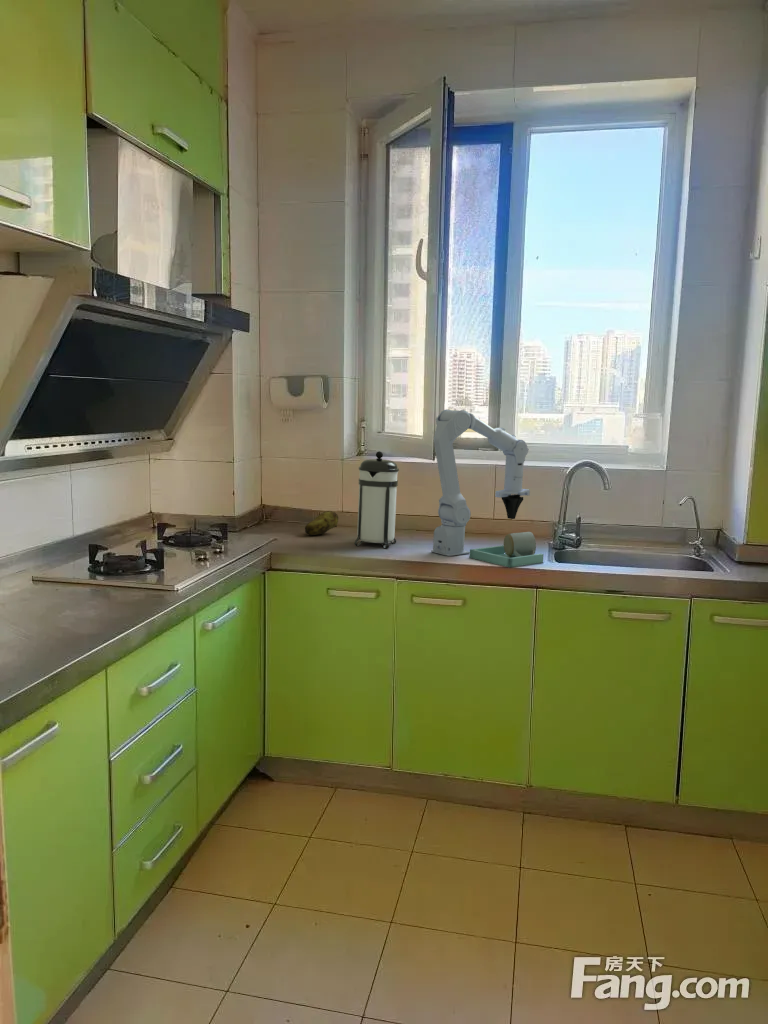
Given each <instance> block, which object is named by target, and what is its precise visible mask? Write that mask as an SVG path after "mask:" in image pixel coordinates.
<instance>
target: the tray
mask: <svg viewBox="0 0 768 1024" xmlns="http://www.w3.org/2000/svg"><path fill="white" fill-rule="evenodd" d="M469 552H470V553H469V559H474V560H479V561H483V562H486V563H490V564H494V565H498V566H504V567H506V568H515V567H520V566H527V565H529V566H530V565H535V564H541V563H544V553H535V554H534V555H528V556H520V557H510V556H508V555H507V554H506V553H505V551H504V544H503V545H495V546H487V547H479V548H471V549H469ZM504 553H505V554H504Z"/></svg>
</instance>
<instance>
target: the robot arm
mask: <svg viewBox="0 0 768 1024" xmlns="http://www.w3.org/2000/svg"><path fill="white" fill-rule="evenodd" d="M435 424H436V425H435V426H436V427H435V431H434V435H433V444H434V451H435V456H436V461H437V469H438V475H439V481H440V487H441V488H440V489H441V493H442V496H441V497H440V498H439V499H438V504H439V505H438V509H437V514H438V518H440V520H441V521H440V522H441V525H439V526H436V528H435V529H434V531H433V539H432V540H433V541H432V543H433V544H432V549H431V550H430V552H431V553H434V554H438V555H439V554H440V555H442V556H447V557H451V556H459V555H466V554H470V551H467V550H464V549H465V534H466V533H465V532H466V526H467V524H468V522H469V521H470V519H471V509H470V508H469V506H468V504H467V500H466V498H465V497H464V496H463V494H462V493H461V488H460V481H459V476H458V469H457V465H456V464H457V463H456V456H455V450H454V445H453V444H454V442H455V440H456V439H457V438H459V436H461V435H462V434H463V433H464V432H466V431H467V430H468V429H469V430H472V431H474V432H475V433H478V434H479V435H482V436H483V437H484V438H487V442H488V444H490V445H491V446H493V447H495V448H496V449H498V450H499V451H502V453H503V455H504V456H505V464H504V465H505V466H504V480H503V481H504V484H503V489H500V490H495V492H494V493H495V495H494V496H495V498H500V499H501V500H502V502H503V504H504V507H505V511H506V516H507V519H510V520H515V519H516V517H517V514H518V511H519V508H520V506H521V504H522V502H523V501H524V497H523V496H530V493H531V491H530V489H527V488H523V481H524V480H523V479H524V478H523V477H524V464H525V461H526V457H527V455H528V453H529V451H530V450H529V448H528V445H527V443H526V441H525V440H523V439H517V438H516V435H514V434H510V433H509V432H507V431H506V429H505V428H504V427H495V428H493V427H492V426H490V425H489V424H487V423H485V422H484V421H483V420H481V419H479V417H477V416H475V415H474V414H473V413H470V412H468V411H466V410H464V409H461V410H460V409H459V410H454V409H447V408H446V409H444V410H442V411H441V412H440V413H439V414H438V416H437V417H436V418H435Z"/></svg>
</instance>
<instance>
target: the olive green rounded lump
mask: <svg viewBox="0 0 768 1024" xmlns="http://www.w3.org/2000/svg"><path fill="white" fill-rule="evenodd" d="M338 523H339V515H338V514H337V513H336V512H335V511H331V510H326V511H325V510H324V512H321V513H320V514H318V515H317V516H316V517H315V518H314V519H313V520H311V521H309V522H308V523H307V524H306V525H305V527H304V531H305V532H304V533H305V534H306V535H307V536H308V535H309V536H318V535H322V534H325V533H327V532H328V531H330V530H332V529H333V528H334V529H335V528H337V527H338Z"/></svg>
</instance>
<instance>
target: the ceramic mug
mask: <svg viewBox="0 0 768 1024" xmlns="http://www.w3.org/2000/svg"><path fill="white" fill-rule="evenodd" d="M503 546H504V551H505V554H507V555H508V556H510V557H520V556H528V555H535V554H536V549H537V542H536V538H535V535H534V534H533V532H532V531H525V532H524V531H523V532H513V533H512V532H511V533H508V534H506V535H505V537H504V539H503Z"/></svg>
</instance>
